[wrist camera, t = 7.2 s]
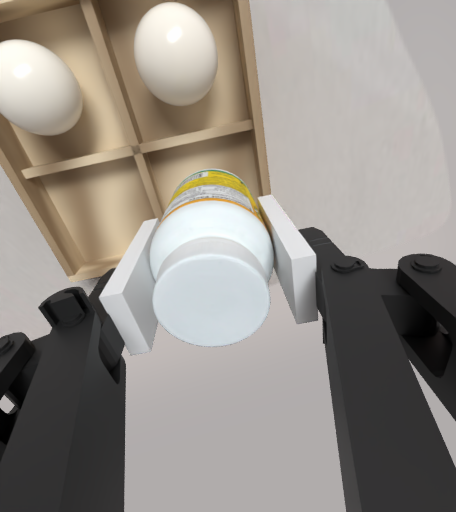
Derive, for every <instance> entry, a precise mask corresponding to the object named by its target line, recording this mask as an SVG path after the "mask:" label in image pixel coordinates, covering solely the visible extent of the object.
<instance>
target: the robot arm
mask: <svg viewBox="0 0 456 512" xmlns="http://www.w3.org/2000/svg"><path fill="white" fill-rule="evenodd" d="M257 198H258V205H259V212H260V215H261V217H262V219H263V221H264V224H265V226H266V228H267V231H268V233H269V236H270V238H271V241H272V245H273V250H274V266H273V267H274V269H275V272H276V274H277V277H278V279H279V282H280V284H281V286H282V289H283V291H284V294H285V296H286V299H287V301H288V303H289V306H290V308H291V311H292V313H293V316H294V318H295V321H296V323H297V324H301V323H307V322H312V321H317V320H318V310H319V312H320V314H321V315H322V317H323V343H324V344H325V350H326V357H327V365H328V373H329V380H330V389H331V396H332V404H333V411H334V420H335V427H336V435H337V443H338V451H339V458H340V466H341V474H342V481H343V490H344V497H345V505H346V512H456V467H455V465H454V463H453V461H452V458H451V456H450V454H449V451H448V449H447V447H446V445H445V442H444V440H443V437H442V435H441V433H440V431H439V428H438V426H437V424H436V421H435V419H434V417H433V415H432V412H431V410H430V408H429V405H428V403H427V401H426V399H425V396H424V394H423V392H422V389H421V387H420V385H419V382H418V380H417V378H416V375H415V373H414V371H413V369H412V366H411V364H410V362H409V360H410V361H411V363H412V364H413V365H414V366H415V368H416V369H417V371H418V372H419V373H420V375H421V376H422V377H423V378H424V380H425V381H426V382H427V384H428V385H429V386H430V388H431V389H432V390H433V392H434V393H435V394H436V396H437V397H438V398H439V400H440V401H441V402H442V404H443V405H444V406H445V408H446V409H447V410H448V412H449V413H450V414H451V415H452V417H453V418H454V419H455V421H456V265H454V264H453V263H451V262H450V261H448V260H446V259H444V258H441V257H437V256H434V255H430V254H411V255H408V256H404V257H402V258H401V259H400V260H399V262H398V269H371V268H369V267H368V265H367V264H366V263H365V262H364V261H362V260H360V259H359V258H356V257H351V256H345V255H344V254H343V253H342V252H341V251H340V250H339V249H338V248H337V246H336V245H335V244H334V243H333V242H332V241H331V240H330V239H329V238H327V236H326V235H325V234H324V233H323V231H321V230H319V229H316V228H314V227H310V228H305V229H300V230H297V228H296V227H295V225H294V224H293V223H292V221H291V220H290V219H289V217H288V216H287V215H286V213H285V212H284V211H283V209H282V208H281V206H280V205H279V204H278V202H277V201H276V200H275V198H274V197H273V196H272V194H271V195H267V196H262V197H257ZM158 225H159V220H158V218H156V219H151V220H147V221H144V222H143V224H142V225H141V227H140V229H139V230H138V232H137V234H136V236H135V237H134V239H133V241H132V242H131V244H130V246H129V247H128V249H127V251H126V252H125V254H124V256H123V257H122V259H121V261H120V262H119V264H118V266H117V267H116V268H112V269H110V270H109V271H107V272H106V273H105V274H104V275H103V276H102V277H101V279H100V280H99V282H98V283H97V284H98V285H96V286H95V288H94V289H93V290H94V291H92V292H91V294H90V295H89V297H88V296H87V295H86V293H85V291H84V290H83V288H81V287H71V288H67V289H64V290H61V291H59V292H57V293H55V294H53V295H52V296H50V297H48V298H47V299H46V300H45V301H43V302H42V303H41V305H40V306H39V307H38V308H39V309H40V311H41V312H42V314H43V315H44V316H45V318H46V319H47V321H48V322H49V323H50V325H51V326H52V330H51V332H50V334H48V335H46V336H43V337H41V338H38V339H35V340H33V341H30V340H29V338H28V337H27V336H26V335H25V334H24V333H22V332H18V333H12V334H9V335H5V336H3V337H1V338H0V400H1V398H2V397H3V395H5V396H6V397H7V398H8V399H9V400H10V401H11V402H12V403H13V404H14V405H15V406H14V407H13V409H12V410H11V411H10V412H9V413H8V414H7V413H5V412H4V411H3V410H1V408H0V512H124V473H125V472H124V470H125V391H126V390H125V388H126V364H125V360H124V358H123V357H122V355H121V354H122V351H123V348H124V345H125V346H126V348H127V350H128V351H129V353H130V355H136V354H142V353H147V352H151V349H152V345H153V341H154V337H155V332H156V329H157V324H158V319H157V318H156V315H155V313H154V310H153V304H152V296H153V290H154V286H155V283H156V281H155V279H154V277H153V274H152V271H151V267H150V247H151V243H152V239H153V237H154V234H155V232H156V230H157V228H158Z"/></svg>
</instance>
